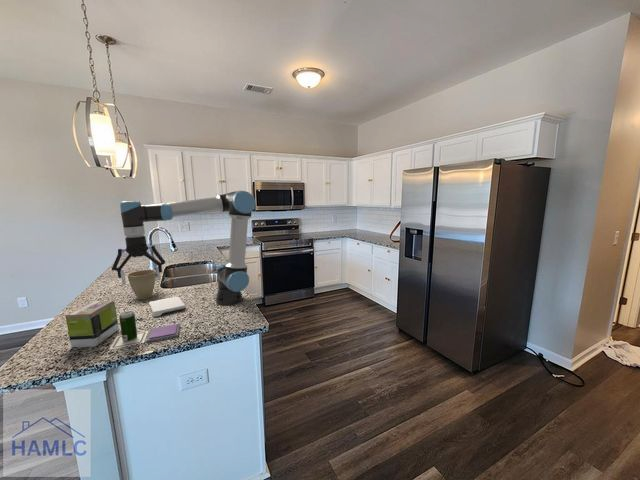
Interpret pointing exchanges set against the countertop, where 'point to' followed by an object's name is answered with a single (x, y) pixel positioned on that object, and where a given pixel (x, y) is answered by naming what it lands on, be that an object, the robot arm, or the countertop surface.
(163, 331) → the ink pad
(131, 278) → the plant pot
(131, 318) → the beer can
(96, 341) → the tea box
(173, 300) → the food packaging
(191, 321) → the countertop surface
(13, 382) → the countertop surface
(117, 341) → the print sheet
